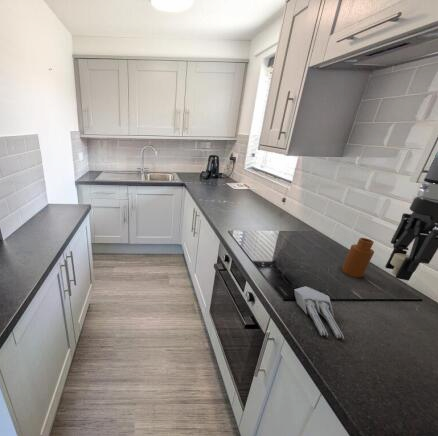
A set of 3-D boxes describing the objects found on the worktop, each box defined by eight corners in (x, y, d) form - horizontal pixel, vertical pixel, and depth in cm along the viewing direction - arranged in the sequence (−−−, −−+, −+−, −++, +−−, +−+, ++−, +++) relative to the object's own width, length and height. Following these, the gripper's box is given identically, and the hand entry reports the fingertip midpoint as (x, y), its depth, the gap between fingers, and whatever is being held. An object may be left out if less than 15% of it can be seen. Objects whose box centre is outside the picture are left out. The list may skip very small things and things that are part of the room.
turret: (311, 339, 71) (317, 330, 68) (288, 289, 87) (292, 280, 85) (347, 345, 69) (354, 336, 67) (317, 293, 86) (322, 284, 84)
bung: (402, 271, 70) (411, 254, 68) (412, 281, 66) (422, 263, 64) (382, 268, 72) (390, 251, 70) (391, 277, 68) (400, 259, 65)
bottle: (358, 269, 103) (372, 238, 97) (365, 279, 97) (382, 246, 91) (338, 266, 106) (352, 235, 99) (345, 274, 99) (360, 242, 93)
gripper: (397, 189, 69) (366, 256, 78) (443, 208, 53) (398, 288, 62) (430, 192, 67) (394, 260, 76) (488, 213, 51) (434, 295, 60)
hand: (396, 273), depth 69 cm, fingers closed on bung, 5 cm apart
